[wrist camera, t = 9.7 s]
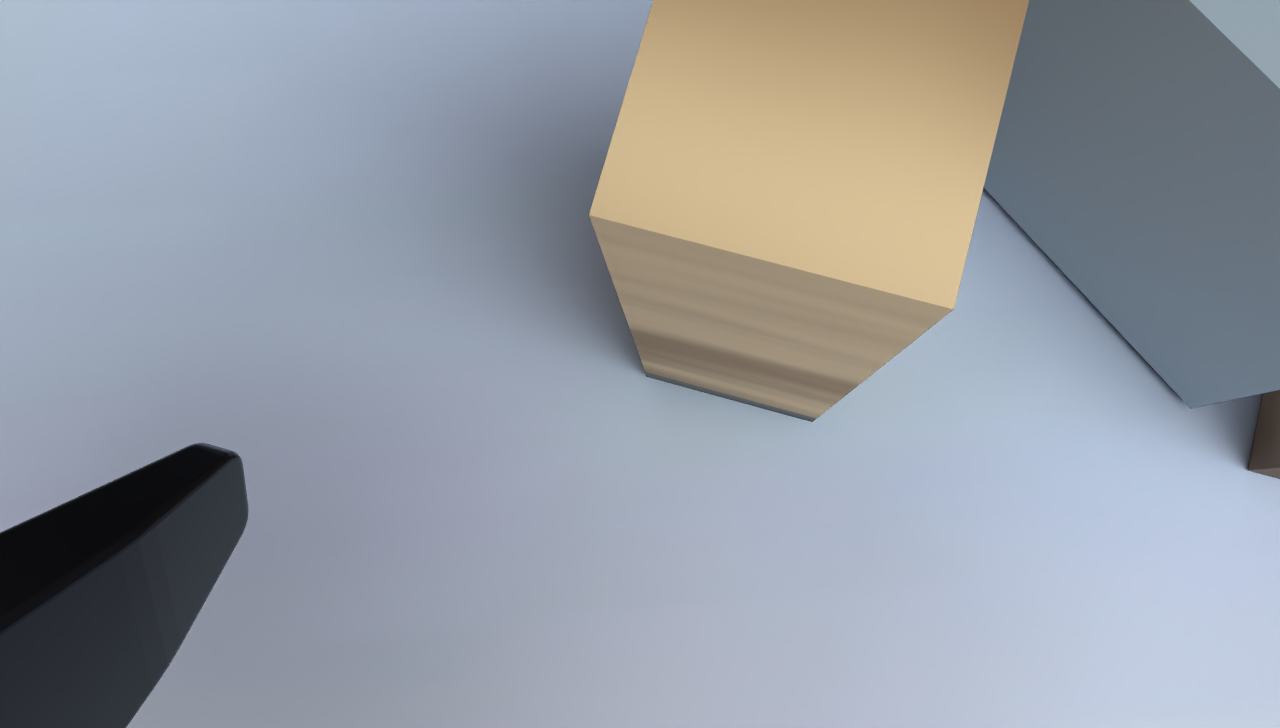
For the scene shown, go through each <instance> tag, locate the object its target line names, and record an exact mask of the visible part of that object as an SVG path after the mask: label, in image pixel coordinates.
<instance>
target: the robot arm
mask: <svg viewBox="0 0 1280 728" xmlns="http://www.w3.org/2000/svg"><path fill="white" fill-rule="evenodd" d="M247 519H248V501H247V494H246V486H245V478H244V471H243V464H242V460H241V458H240V457H239V456H238V454H237V453H235V452H233V451H230V450H227V449H223V448H220V447H216V446H213V445H210V444H205V443H197V444H193V445H190V446H188V447H185V448H183V449H181V450H179V451H177V452H175V453H172V454H170V455H168V456H166V457H164V458H162V459H159V460H157V461H155V462H153V463H151V464H148V465H146V466H144V467H142V468H140V469H138V470H135V471H133V472H131V473H129V474H127V475H125V476H122V477H120V478H118V479H116V480H114V481H112V482H109V483H107V484H105V485H103V486H101V487H99V488H96V489H94V490H92V491H90V492H88V493H85V494H83V495H81V496H79V497H77V498H75V499H72V500H70V501H68V502H66V503H64V504H62V505H59V506H57V507H55V508H53V509H51V510H49V511H46V512H44V513H42V514H40V515H38V516H36V517H33V518H31V519H29V520H27V521H25V522H22V523H20V524H18V525H16V526H14V527H12V528H9V529H7V530H5V531H3V532H1V533H0V728H126V727H127V725H128V724H129V723H130V721H131V720H132V718H133V717H134V716H135V714H136V713H137V711H138V710H139V708H140V707H141V706H142V704H143V703H144V701H145V700H146V698H147V697H148V696H149V694H150V693H151V691H152V690H153V688H154V687H155V686H156V684H157V683H158V681H159V680H160V678H161V677H162V675H163V674H164V672H165V671H166V669H167V668H168V666H169V664H170V663H171V661H172V659H173V658H174V656H175V654H176V653H177V651H178V649H179V647H180V646H181V644H182V642H183V640H184V639H185V637H186V635H187V633H188V631H189V630H190V628H191V626H192V624H193V622H194V621H195V619H196V617H197V615H198V613H199V612H200V610H201V608H202V606H203V604H204V602H205V601H206V599H207V597H208V595H209V593H210V592H211V590H212V588H213V586H214V584H215V583H216V581H217V579H218V577H219V575H220V574H221V572H222V570H223V568H224V566H225V565H226V563H227V561H228V559H229V557H230V556H231V554H232V552H233V550H234V548H235V547H236V545H237V543H238V541H239V539H240V537H241V536H242V534H243V532H244V529H245V526H246V523H247Z"/></svg>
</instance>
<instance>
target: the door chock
mask: <svg viewBox="0 0 1280 728" xmlns="http://www.w3.org/2000/svg"><path fill="white" fill-rule="evenodd" d="M1028 3H1029V0H653V3H652V7H651V10H650V13H649V17H648V20H647V23H646V27H645V30H644V33H643V37H642V40H641V43H640V47H639V50H638V53H637V57H636V60H635V63H634V67H633V70H632V73H631V77H630V80H629V83H628V87H627V90H626V93H625V97H624V100H623V103H622V107H621V110H620V113H619V116H618V120H617V123H616V126H615V130H614V133H613V136H612V140H611V143H610V146H609V150H608V153H607V156H606V160H605V163H604V166H603V170H602V173H601V176H600V180H599V183H598V186H597V190H596V193H595V196H594V200H593V203H592V206H591V210H590V213H589V217H590V220H591V222H592V225H593V228H594V231H595V233H596V236H597V239H598V242H599V245H600V247H601V250H602V253H603V256H604V259H605V261H606V264H607V267H608V270H609V273H610V275H611V278H612V281H613V284H614V287H615V289H616V292H617V295H618V298H619V300H620V303H621V306H622V309H623V312H624V314H625V317H626V320H627V323H628V326H629V328H630V331H631V334H632V337H633V340H634V342H635V345H636V348H637V351H638V353H639V356H640V359H641V362H642V365H643V367H644V370H645V373H646V376H647V377H650V378H654V379H658V380H661V381H665V382H668V383H672V384H676V385H679V386H683V387H687V388H690V389H694V390H698V391H701V392H705V393H709V394H712V395H716V396H720V397H723V398H727V399H730V400H734V401H738V402H741V403H745V404H749V405H752V406H756V407H760V408H763V409H767V410H771V411H774V412H778V413H782V414H785V415H789V416H792V417H796V418H800V419H803V420H807V421H811V422H813V421H814V420H815V419H817V418H818V417H819V416H820V415H822V414H823V413H824V412H825V411H827V410H828V409H829V408H830V407H832V406H833V405H834V404H835V403H837V402H838V401H839V400H841V399H842V398H843V397H844V396H846V395H847V394H848V393H849V392H851V391H852V390H853V389H854V388H856V387H857V386H858V385H859V384H861V383H862V382H863V381H864V380H866V379H867V378H868V377H869V376H871V375H872V374H873V373H874V372H876V371H877V370H878V369H879V368H881V367H882V366H883V365H885V364H886V363H887V362H888V361H890V360H891V359H892V358H893V357H895V356H896V355H897V354H898V353H900V352H901V351H902V350H903V349H905V348H906V347H907V346H908V345H910V344H911V343H912V342H913V341H915V340H916V339H917V338H918V337H920V336H921V335H922V334H923V333H925V332H926V331H927V330H929V329H930V328H931V327H932V326H934V325H935V324H936V323H937V322H939V321H940V320H941V319H942V318H944V317H945V316H946V315H947V314H949V313H950V312H951V311H952V310H954V306H955V302H956V298H957V294H958V290H959V286H960V282H961V277H962V273H963V269H964V265H965V261H966V257H967V253H968V249H969V245H970V241H971V236H972V232H973V228H974V224H975V220H976V216H977V212H978V208H979V204H980V200H981V195H982V191H983V187H984V183H985V179H986V175H987V171H988V167H989V163H990V159H991V154H992V150H993V146H994V142H995V138H996V134H997V130H998V126H999V122H1000V118H1001V113H1002V109H1003V105H1004V101H1005V97H1006V93H1007V89H1008V85H1009V81H1010V77H1011V73H1012V68H1013V64H1014V60H1015V56H1016V52H1017V48H1018V44H1019V40H1020V36H1021V32H1022V27H1023V23H1024V19H1025V15H1026V11H1027V7H1028Z"/></svg>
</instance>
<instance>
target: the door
mask: <svg viewBox="0 0 1280 728" xmlns="http://www.w3.org/2000/svg"><path fill="white" fill-rule="evenodd" d="M984 188H985V190H986V191H987V192H988V193H989V194H990V195H991V196H992V197H993V198H994V199H995V200H996V201H997V202H998V203H999V204H1000V206H1001V207H1002V208H1003V209H1004V210H1005V211H1006V212H1007V213H1008V214H1009V215H1010V216H1011V217H1012V218H1013V219H1014V220H1015V222H1016V223H1017V224H1018V225H1019V226H1020V227H1021V228H1022V229H1023V230H1024V231H1025V232H1026V233H1027V234H1028V235H1029V236H1030V238H1031V239H1032V240H1033V241H1034V242H1035V243H1036V244H1037V245H1038V246H1039V247H1040V248H1041V249H1042V250H1043V251H1044V252H1045V254H1046V255H1047V256H1048V257H1049V258H1050V259H1051V260H1052V261H1053V262H1054V263H1055V264H1056V265H1057V266H1058V267H1059V268H1060V270H1061V271H1062V272H1063V273H1064V274H1065V275H1066V276H1067V277H1068V278H1069V279H1070V280H1071V281H1072V282H1073V283H1074V284H1075V286H1076V287H1077V288H1078V289H1079V290H1080V291H1081V292H1082V293H1083V294H1084V295H1085V296H1086V297H1087V298H1088V299H1089V301H1090V302H1091V303H1092V304H1093V305H1094V306H1095V307H1096V308H1097V309H1098V310H1099V311H1100V312H1101V313H1102V314H1103V315H1104V317H1105V318H1106V319H1107V320H1108V321H1109V322H1110V323H1111V324H1112V325H1113V326H1114V327H1115V328H1116V329H1117V330H1118V331H1119V333H1120V334H1121V335H1122V336H1123V337H1124V338H1125V339H1126V340H1127V341H1128V342H1129V343H1130V344H1131V345H1132V346H1133V347H1134V349H1135V350H1136V351H1137V352H1138V353H1139V354H1140V355H1141V356H1142V357H1143V358H1144V359H1145V360H1146V361H1147V362H1148V363H1149V365H1150V366H1151V367H1152V368H1153V369H1154V370H1155V371H1156V372H1157V373H1158V374H1159V375H1160V376H1161V377H1162V378H1163V379H1164V381H1165V382H1166V383H1167V384H1168V385H1169V386H1170V387H1171V388H1172V389H1173V390H1174V391H1175V392H1176V393H1177V394H1178V395H1179V397H1180V398H1181V399H1182V400H1183V401H1184V402H1185V403H1186V404H1187V405H1188V406H1189V407H1190V408H1196V407H1201V406H1205V405H1210V404H1215V403H1220V402H1224V401H1229V400H1234V399H1239V398H1243V397H1248V396H1253V395H1257V394H1262V393H1267V392H1272V391H1276V390H1280V0H1029V3H1028V7H1027V11H1026V15H1025V19H1024V23H1023V27H1022V32H1021V36H1020V40H1019V44H1018V48H1017V52H1016V56H1015V60H1014V64H1013V68H1012V73H1011V77H1010V81H1009V85H1008V89H1007V93H1006V97H1005V101H1004V105H1003V109H1002V113H1001V118H1000V122H999V126H998V130H997V134H996V138H995V142H994V146H993V150H992V154H991V159H990V163H989V167H988V171H987V175H986V179H985V183H984Z"/></svg>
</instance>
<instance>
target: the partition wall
mask: <svg viewBox="0 0 1280 728" xmlns="http://www.w3.org/2000/svg"><path fill="white" fill-rule="evenodd" d="M1248 470H1249V471H1252V472H1256V473H1260V474H1264V475H1268V476H1271V477H1275V478H1279V479H1280V390H1276V391H1272V392H1267V393H1263V396H1262V401H1261V406H1260V411H1259V416H1258V421H1257V426H1256V432H1255V437H1254V442H1253V447H1252V452H1251V457H1250V462H1249V467H1248Z"/></svg>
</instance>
